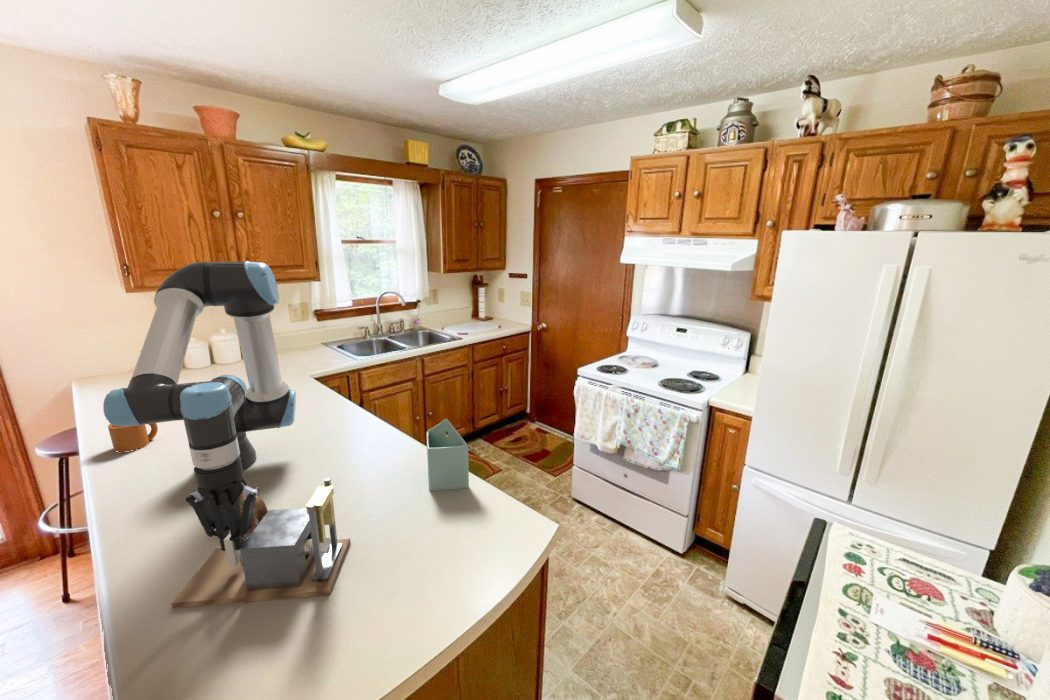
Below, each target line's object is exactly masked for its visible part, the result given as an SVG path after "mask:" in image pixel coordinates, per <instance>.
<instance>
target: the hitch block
mask: <svg viewBox="0 0 1050 700" xmlns="http://www.w3.org/2000/svg"><path fill="white" fill-rule="evenodd" d="M323 481H324V482H323V484H324V485H323V486H332V481H331V477H328V478H327V477H326V478H325V479H324V480H323ZM332 503H333V504H334V498H333V496H332ZM308 512H309V514H307V508H306V507H303V508H286V509H283V508H282V509H269V510H268V512H267V514H266V515H265V516H264V517H263V519H262V520H261V521H260V523H259V524H258V525H257V527H256V528H255V529H254V531H253V532H250V534H249V535H248V536H249V537H248V536H247V537H248V539H247V540H246V541H245V543H244V544H243V545H242V547H241V548H240V552H241V558H242V563H243V569H244V574H245V580H246V585H247V591H253V590H266V589H278V588H291V587H301V584H302V582H303V580H304V578H305V576H306V574H307V572H308V570H309V568H310V566H311V564H312V562H313V560H314V559H315V567H316V572H315V574H314V576H313V578H312V582H324V581H328V579H329V577H330V575H331V572H332V570H333V567H334V565H335V563H336V560H337V558H338V556H339V553H340V551H341V549H342V543H340V544H338V543H337V540H338V535H337V526H336V518H335V517H336V516H335V514H334V523H333V525H328V526H329V533H330V534H329V536H330V537H329V538H330V539H331V546H330V550H329V552H328V553H324V555H323V557H322V556H321V547H320V539H319V531H318V523H317V515H316V507H315V504H309V506H308ZM333 512H334V513H335V507H334V505H333ZM306 539H312V543H313V551H314V554H307V555H305V550H304V542H305V540H306Z"/></svg>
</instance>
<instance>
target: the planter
mask: <svg viewBox="0 0 1050 700" xmlns="http://www.w3.org/2000/svg"><path fill="white" fill-rule="evenodd" d="M446 433H447V434H446ZM426 455H427V474H428V475H427V477H428V478H427V479H428V481H427V482H428V490H429V491H430V492H431V491H432V492H435V491H451V490H460V489H461V490H462V489H463V490H464V489H469V487H470V485H469V484H470V483H469V482H470V479H469V475H470V474H469V473H470V471H469V469H470V468H469V445H468V444H467V442H466V441H465V440H464V438H463V437H462V436H461V435H460V433H459V432H458V430H457V429H456V428H455V427H454V426H453V425H452V423H451V422H450V421H449V420H448V419H447V418H445V419H443V420H442V421H440V422H439V423H438V424H435V425H434V426H433V427H431V428H429V429H427V431H426Z"/></svg>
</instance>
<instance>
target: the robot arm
mask: <svg viewBox="0 0 1050 700" xmlns="http://www.w3.org/2000/svg"><path fill="white" fill-rule="evenodd" d="M278 289H279V288H278V285H277V281H276V278H275V275H274V273H273V271H272V268H270V266H269V265H268V264H266V263H264V262H260V261H259V262H258V261H257V262H255V261H249V260H247V261H196V262H191V263H189V264H186V265H184V266H182V267H180V268H179V269H177V270H175V271H174V272H172V273H171V274H170V275H169V276H167V277H166V278H165V279H164V280H163V281H162V282H161V284H160V285H159V286H158V288H157V289H156V292H155V295H154V297H153V304H154V306H155V307H156V308H155V311H154V313H153V314H154V315H153V316H152V320H151V322H150V325H149V328H148V330H147V334H146V337H145V339H144V342H143V345H142V347H141V349H140V353H139V356H138V359H137V362H136V364H135V368H134V370H133V373H132V376H131V379H130V380H129V383H128V385H127V387H121V388H117V389H112V390H110V391H109V392H108V393H107V394H106V395H105V398H104V400H103V414H104V417H105V419H106V420H107V421H108V423H109V424H112V425H114V426H141V425H144V424H145V425H149V424H152V423H156V424H159V423H160V424H161V423H165V422H166V423H168V422H173V421H183V423H184V424H183V425H184V428H185V433H186V437H187V442H188V448H189V452H190V457H191V462H192V465H193V467H194V468H193V471H194V478H195V483H196V485H197V489H195V490H193V491H192V492H191V493H190V494H189V495H188V496H186V497H185V499H184V500H185V502H186V503H187V504H189V505H190V506H191V507H192V509H193V511H194V512H195V514H196V516H197V518H198V521H199V523H200V524H201V526H202V527H203V529H204V532H205V534H206V536H207V537H208V538H213V537H217V539H218V540H219V543H220V545H219V546H220V547H221V549H222V551H226V555H227V561H228V566H237V564H238V563H239V561H240V548H241V547H242V544H243V542H244V540H245V535H246V534H247V533H248V532H250V530H249V529H250V528H251V527H252V524H253V516H254V508H255V501H256V496H257V495H258V496H259V494H260V492H261V488H260V487H256V486H255V487H254V488H252V487H251V486H248V485H247V482H246V480H245V479H244V470H245V469H247V468H249V467H250V466H251V465H253V464H254V463H255V462H256V460H257V458H256V457H257V452H256V449H255V448H254V446H253V444H252V443H251V441H250V440H249V438H248V437H247V436H248V435H247V432H254V431H261V430H262V431H263V430H272V429H281V428H285V427H290V426H292V425H293V424H294V422H295V417H296V408H297V405H296V403H297V401H296V400H297V399H296V398H297V396H296V394H297V393H296V390H295V389H291V388H290V387H289V384H288V383H286V382H285V381H283V380H282V375H281V374H282V373H281V369H280V365H279V363H280V362H279V359H278V354H277V347H276V343H275V337H274V331H273V326H272V322H271V316H270V314H271V313H272V312H273V311H274V310H275V305H277V304H279V301H280V300H279V299H280V296H279V295H280V294H279V291H278ZM207 307H223V308H224V312H225V314H226V315H227V316H229V317H230V318H233V321H234V325H235V330H236V334H237V337H238V341H239V348H240V353H241V355H242V359H243V364H244V367H245V373H246V377H247V380H248V385H249V387H248V388H247V385H246V383H245V381H244V380H243V379H241V378H240V377H238V376H236V375H232V374H223V375H222V374H221V375H219V376H216V377H215V378H213V379H211V380H209V381H208V380H206V381H198V382H197V381H196V382H195V381H194V382H186V383H185V382H184V383H179V378H180V376H181V372H182V368H183V365H184V361H185V358H186V354H187V350H188V347H189V344H190V343H189V342H190V340H191V335H192V332H193V329H194V325H195V321H196V318H197V317H198V316H199V315H201V314H202V313H203V311H204V308H207ZM254 461H255V462H254ZM253 462H254V463H253ZM252 463H253V464H252ZM242 492H243V494H244V498H243V499H244V500H245V501H244V504H243V511H242V516H241V511H240V505H239V501H240V495H241V494H242Z"/></svg>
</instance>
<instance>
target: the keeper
mask: <svg viewBox="0 0 1050 700" xmlns="http://www.w3.org/2000/svg"><path fill="white" fill-rule="evenodd" d="M334 493H335V491H334V485H331V486H325V485H323V486H317V488H316V489H315V491H314V493H313V494H312V496H311V498H310V499H309V501H308V502H307V504H306V505H305V506H306V507H305V508H307V514H309V512H308V506H309V504H315V507H316V515H317V523H318V531H319V539H320V543H324V541H325V539H326V538H327V537H326V529H325V528H326V527H325V526H329V525H333V523H334V515H335V511H334V512H333V506H334V502H333V503H332V497H333V496H334Z"/></svg>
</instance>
